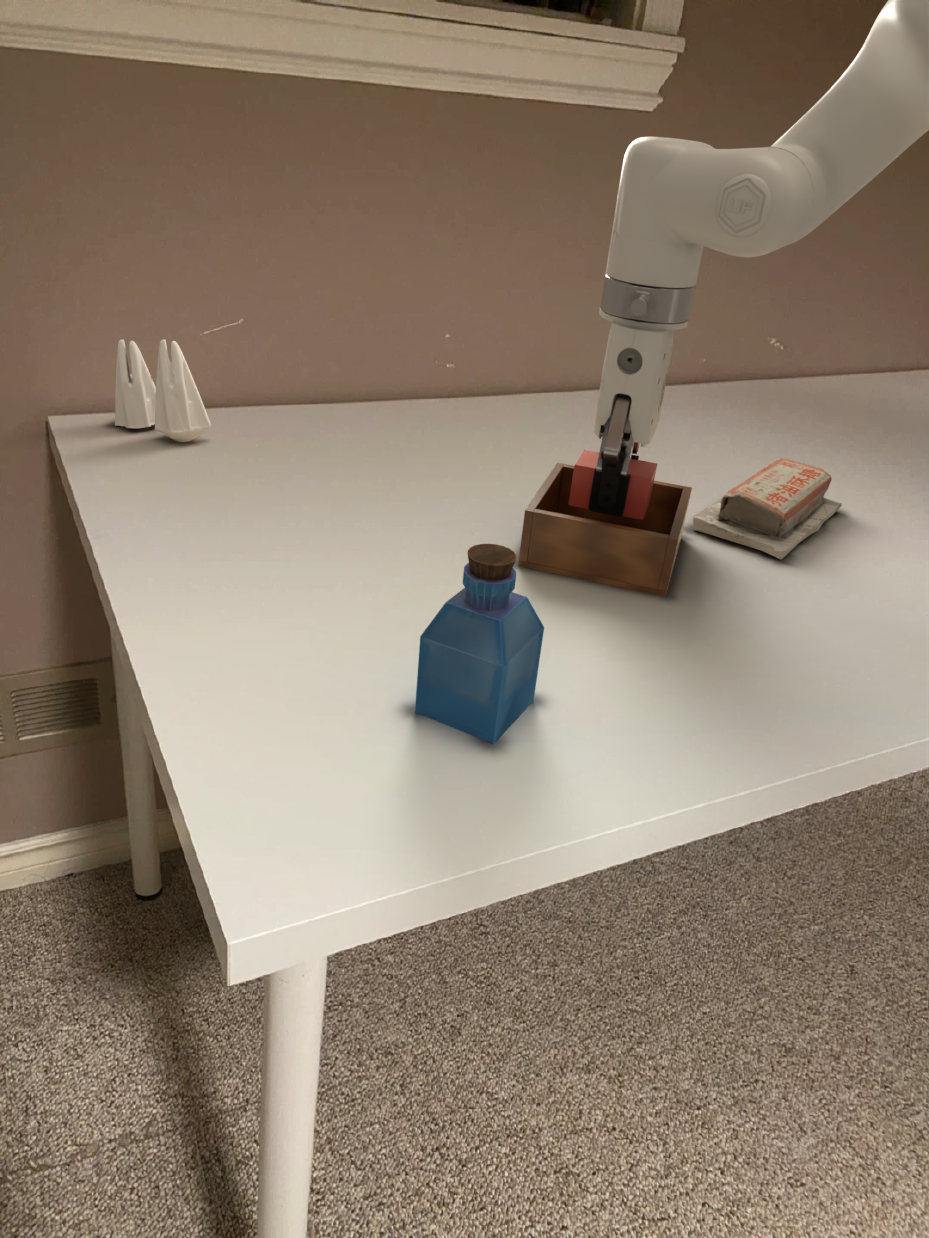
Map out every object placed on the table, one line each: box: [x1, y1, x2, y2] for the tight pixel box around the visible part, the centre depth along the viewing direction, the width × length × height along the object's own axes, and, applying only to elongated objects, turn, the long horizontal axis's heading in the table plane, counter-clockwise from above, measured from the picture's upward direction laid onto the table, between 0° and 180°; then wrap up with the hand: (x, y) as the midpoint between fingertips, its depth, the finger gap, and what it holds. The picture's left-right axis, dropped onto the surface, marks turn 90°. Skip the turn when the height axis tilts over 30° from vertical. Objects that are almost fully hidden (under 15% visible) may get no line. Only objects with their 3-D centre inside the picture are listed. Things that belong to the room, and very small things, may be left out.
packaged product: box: [692, 458, 843, 560], centre depth 100 cm, size 18×5×10 cm
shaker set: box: [114, 338, 212, 443], centre depth 106 cm, size 12×4×11 cm, turn 59°
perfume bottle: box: [414, 543, 545, 745], centre depth 64 cm, size 6×6×12 cm
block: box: [568, 449, 658, 520], centre depth 88 cm, size 7×4×4 cm, turn 73°
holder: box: [517, 462, 693, 597], centre depth 90 cm, size 14×14×6 cm
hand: (610, 500), depth 89 cm, fingers closed on block, 4 cm apart
